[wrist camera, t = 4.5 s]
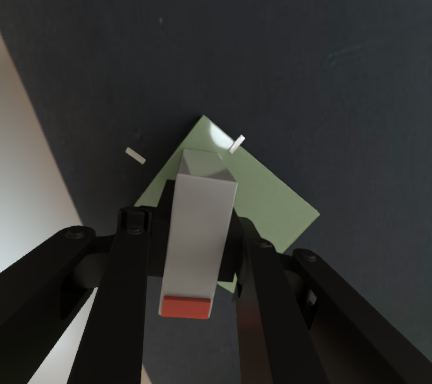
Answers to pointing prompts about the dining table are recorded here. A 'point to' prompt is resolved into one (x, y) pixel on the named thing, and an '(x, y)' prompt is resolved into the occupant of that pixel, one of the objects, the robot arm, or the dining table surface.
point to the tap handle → (196, 234)
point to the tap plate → (239, 187)
